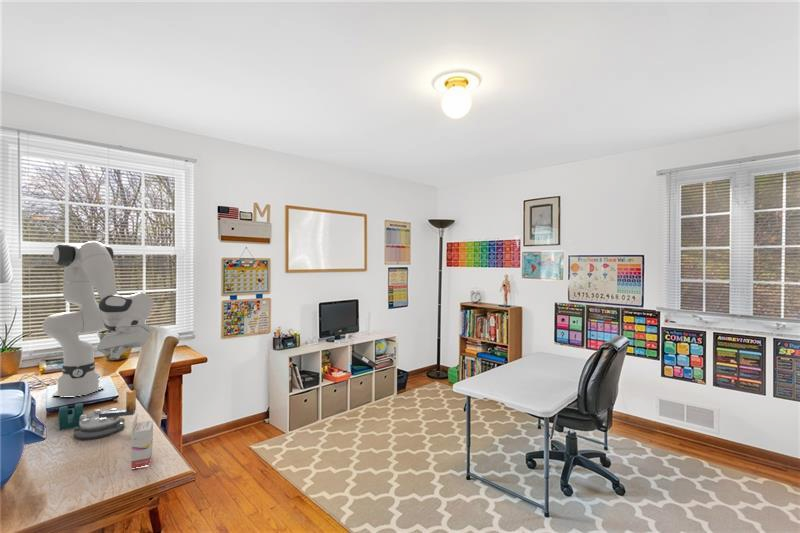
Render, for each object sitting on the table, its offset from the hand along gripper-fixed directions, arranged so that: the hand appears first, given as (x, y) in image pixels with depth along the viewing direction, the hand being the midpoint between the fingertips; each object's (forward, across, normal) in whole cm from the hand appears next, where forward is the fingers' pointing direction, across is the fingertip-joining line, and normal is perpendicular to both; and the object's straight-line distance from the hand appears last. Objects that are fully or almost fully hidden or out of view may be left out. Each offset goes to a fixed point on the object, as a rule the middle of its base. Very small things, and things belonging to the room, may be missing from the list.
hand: (113, 358), depth 149 cm
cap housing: (+22, -6, +12) cm, 26 cm away
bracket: (+16, -25, +14) cm, 33 cm away
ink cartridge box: (+38, +27, +6) cm, 47 cm away
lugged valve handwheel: (+20, -3, +12) cm, 24 cm away
